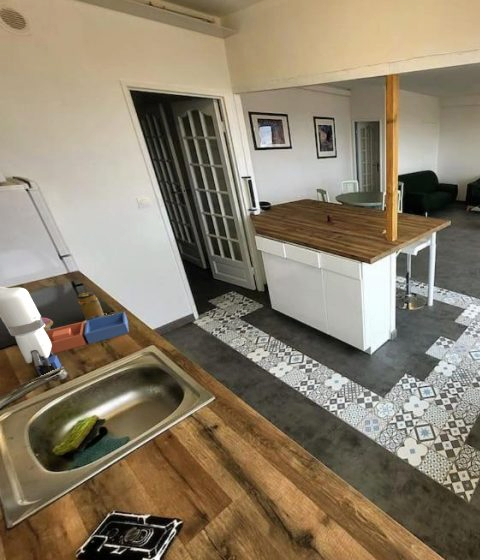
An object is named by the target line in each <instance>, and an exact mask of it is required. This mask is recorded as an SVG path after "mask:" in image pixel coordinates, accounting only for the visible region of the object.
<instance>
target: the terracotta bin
mask: <svg viewBox="0 0 480 560" xmlns="http://www.w3.org/2000/svg"><path fill="white" fill-rule="evenodd" d="M84 321H85V320H83V321H80V322H74V323H72V324H67V325H63V326H59V327H54V328H50V330H46V331H45V332H46V334H47V335H48V337H49V339H50V341H51V344H52V347H51V351H52V352H53V355H55V354H58V353H62V352H64V351H69V350H72V349H75V348H79V347H83V346H86V345H87V343H88V341H87V339H86V337H85V327H86V323H84ZM66 328H70V329H71V331H72V333H73V335H74V336H73V337H69V338H65V339H62V340H58V341H54V340H53V338H52V336H53V332H54V331H58V330H62V329H66Z"/></svg>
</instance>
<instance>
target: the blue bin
mask: <svg viewBox="0 0 480 560" xmlns="http://www.w3.org/2000/svg"><path fill="white" fill-rule="evenodd" d="M85 325H86V327H85V337H86V339H87V343H88V344H89V345H90V344H94V343H97V342H102V341H105V340H108V339H111V338H116V337H119V336H123V335H126V334H129V333H130V330H129V320H128V317H127V314H126V312H125V311H121V312H117V313H113V314H112V315H108V316H104V317H100V318H96V319H92V320H88V321H86V323H85Z"/></svg>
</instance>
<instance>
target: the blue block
mask: <svg viewBox="0 0 480 560" xmlns="http://www.w3.org/2000/svg"><path fill="white" fill-rule="evenodd" d="M48 359H49V362H50V364H53V366H54V368H55V369H57V368H60V367H61V368H62V363H61V362H60V359H59V358H58V355H56V354H54V355H53V356H51V357H48ZM41 361H42V362H46V361H45V360H41ZM34 368H35V370H36V371H37V373H38V375H39V376H41V375H42V374H41V373H40V371H39V369H38V368H37V367H36V366H35V365H34Z"/></svg>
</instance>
